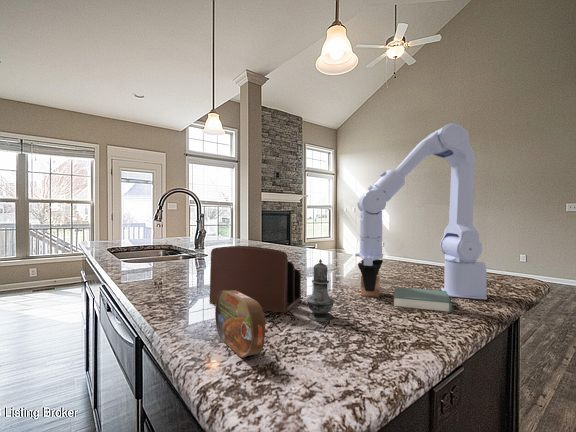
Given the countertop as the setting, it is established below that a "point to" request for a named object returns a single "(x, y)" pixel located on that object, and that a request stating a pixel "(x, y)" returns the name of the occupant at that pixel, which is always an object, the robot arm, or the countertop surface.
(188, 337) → the countertop surface
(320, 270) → the salt shaker
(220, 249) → the letter holder
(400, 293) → the book
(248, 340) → the tin
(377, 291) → the block
